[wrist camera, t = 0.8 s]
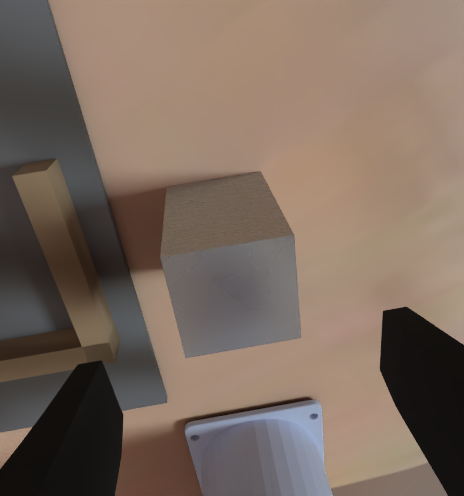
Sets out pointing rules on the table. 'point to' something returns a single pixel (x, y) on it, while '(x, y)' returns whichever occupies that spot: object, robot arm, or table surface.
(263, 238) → the aluminium block
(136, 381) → the dock
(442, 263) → the table surface
